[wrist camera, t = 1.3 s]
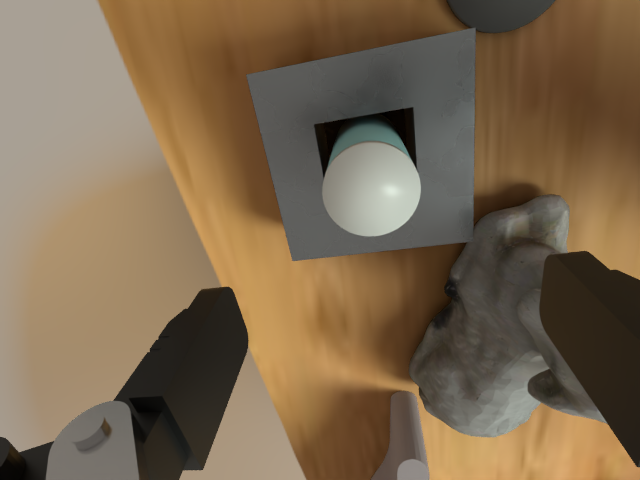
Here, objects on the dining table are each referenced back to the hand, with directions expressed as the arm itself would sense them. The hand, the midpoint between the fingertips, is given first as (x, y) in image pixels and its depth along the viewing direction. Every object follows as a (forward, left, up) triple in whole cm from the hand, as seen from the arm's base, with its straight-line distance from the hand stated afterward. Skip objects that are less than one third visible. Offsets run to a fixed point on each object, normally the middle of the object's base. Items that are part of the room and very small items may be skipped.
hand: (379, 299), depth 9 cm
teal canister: (0, 0, -18) cm, 18 cm away
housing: (0, 0, -18) cm, 18 cm away
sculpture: (-8, +15, -19) cm, 25 cm away
